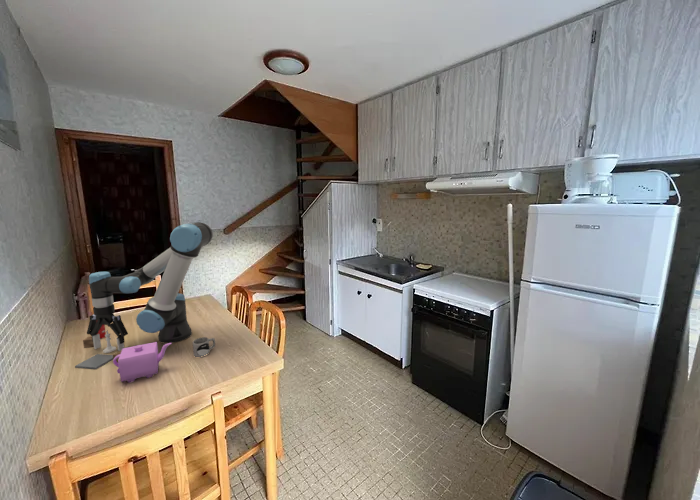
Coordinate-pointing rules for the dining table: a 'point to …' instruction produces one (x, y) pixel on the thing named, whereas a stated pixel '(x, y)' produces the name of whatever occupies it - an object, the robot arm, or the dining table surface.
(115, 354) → the walnut cube
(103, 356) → the coaster
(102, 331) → the beverage can
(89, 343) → the walnut cube
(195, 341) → the mug
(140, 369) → the teapot
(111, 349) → the chess piece
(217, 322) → the dining table surface
